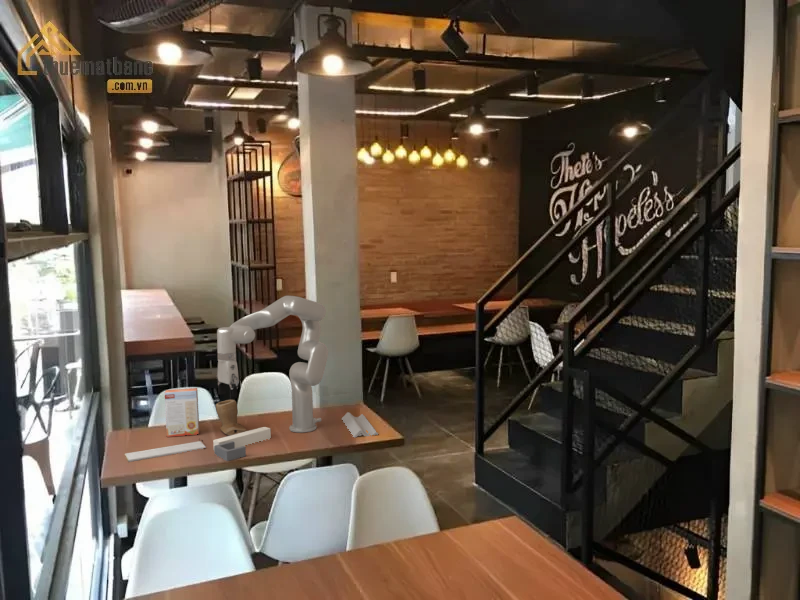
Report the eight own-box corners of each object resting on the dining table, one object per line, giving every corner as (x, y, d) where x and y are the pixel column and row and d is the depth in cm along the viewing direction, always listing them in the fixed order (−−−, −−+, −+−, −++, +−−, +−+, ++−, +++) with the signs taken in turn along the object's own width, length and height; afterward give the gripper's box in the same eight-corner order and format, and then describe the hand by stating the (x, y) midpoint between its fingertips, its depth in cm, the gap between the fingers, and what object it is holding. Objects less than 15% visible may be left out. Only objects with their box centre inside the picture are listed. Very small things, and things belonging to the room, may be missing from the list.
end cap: (232, 450, 279) (232, 441, 279) (245, 456, 271) (245, 446, 271) (214, 455, 273) (214, 445, 273) (227, 461, 266) (226, 451, 265)
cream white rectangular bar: (264, 437, 297) (264, 426, 297) (270, 439, 294) (270, 428, 294) (213, 451, 279) (213, 440, 278) (219, 453, 276) (219, 442, 275)
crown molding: (378, 436, 298) (378, 429, 298) (352, 439, 295) (352, 431, 295) (364, 418, 329) (364, 411, 328) (340, 420, 325) (340, 412, 325)
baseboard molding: (123, 455, 276) (128, 463, 265) (123, 448, 275) (128, 456, 265) (199, 442, 292) (206, 450, 281) (198, 436, 291) (205, 443, 281)
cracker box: (199, 431, 306) (197, 387, 304) (198, 435, 300) (196, 390, 298) (167, 433, 303) (166, 389, 301) (166, 437, 297) (164, 392, 295)
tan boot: (214, 430, 308) (213, 398, 307) (240, 426, 313) (239, 395, 312) (220, 439, 295) (219, 406, 293) (247, 435, 300) (246, 403, 298)
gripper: (245, 358, 275) (246, 398, 276) (224, 352, 287) (225, 391, 289) (229, 360, 270) (230, 401, 271) (208, 355, 282) (210, 394, 284)
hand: (227, 396), depth 280 cm, fingers open, 9 cm apart
